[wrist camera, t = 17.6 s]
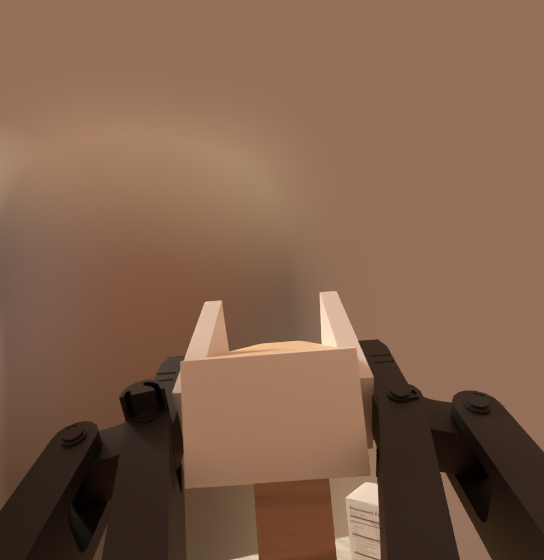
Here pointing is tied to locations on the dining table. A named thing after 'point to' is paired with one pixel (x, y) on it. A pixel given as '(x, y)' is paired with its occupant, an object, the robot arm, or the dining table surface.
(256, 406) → the tan rectangular bar
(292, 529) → the shelf stand
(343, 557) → the dining table surface
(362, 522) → the supplement box
